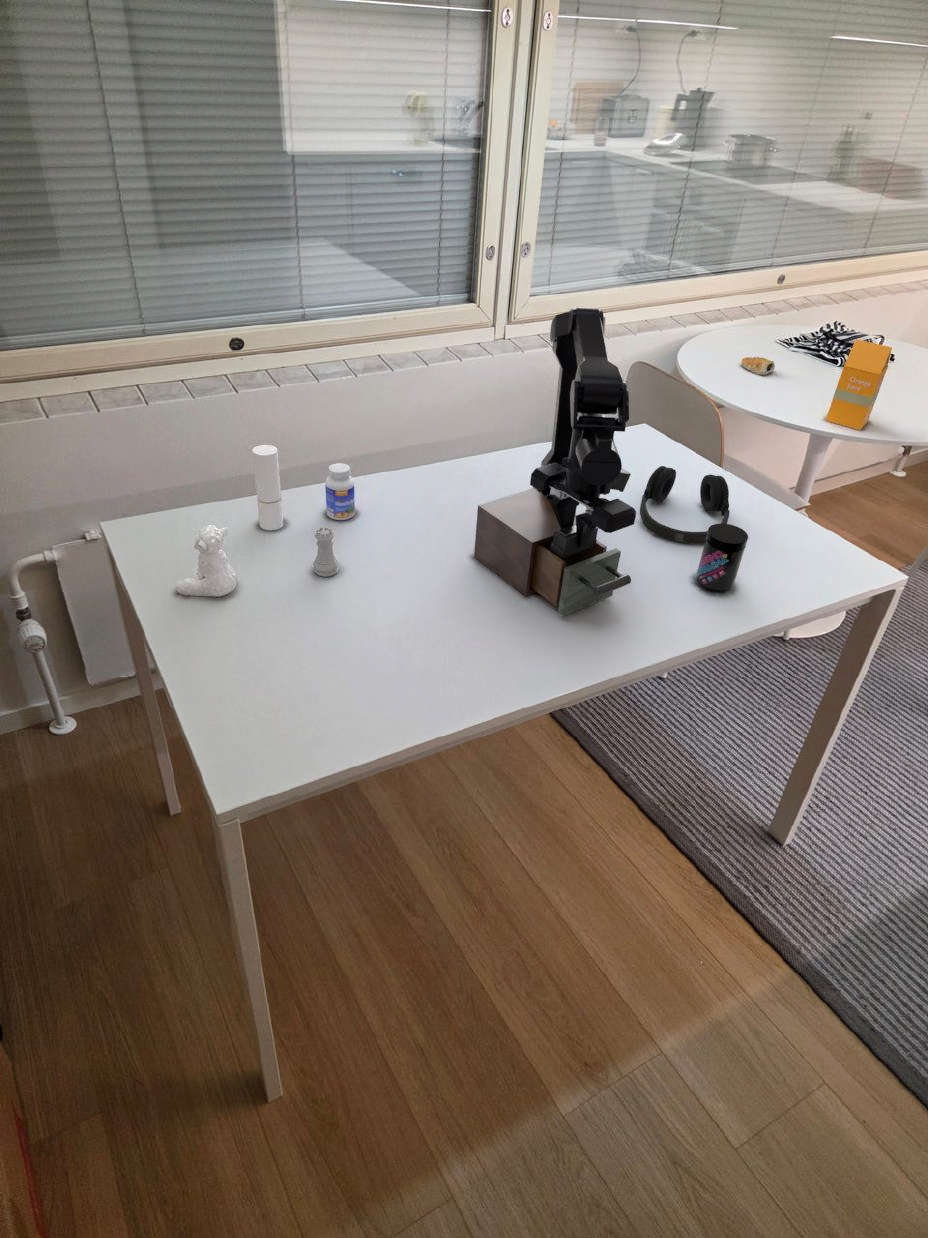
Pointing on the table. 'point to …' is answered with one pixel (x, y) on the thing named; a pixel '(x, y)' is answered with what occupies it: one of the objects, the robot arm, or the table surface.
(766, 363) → the pastry
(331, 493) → the pill bottle
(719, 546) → the supplement container
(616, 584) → the drawer
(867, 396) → the orange juice
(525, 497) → the cabinet
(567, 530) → the dark box
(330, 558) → the rook chess piece
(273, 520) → the tube
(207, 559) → the white creature statuette
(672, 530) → the headphones
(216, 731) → the table surface
